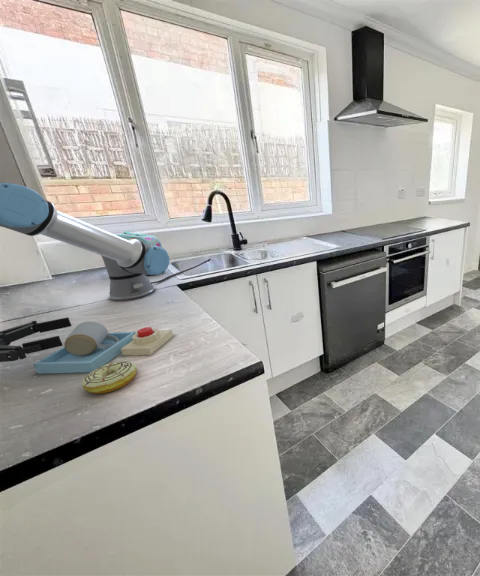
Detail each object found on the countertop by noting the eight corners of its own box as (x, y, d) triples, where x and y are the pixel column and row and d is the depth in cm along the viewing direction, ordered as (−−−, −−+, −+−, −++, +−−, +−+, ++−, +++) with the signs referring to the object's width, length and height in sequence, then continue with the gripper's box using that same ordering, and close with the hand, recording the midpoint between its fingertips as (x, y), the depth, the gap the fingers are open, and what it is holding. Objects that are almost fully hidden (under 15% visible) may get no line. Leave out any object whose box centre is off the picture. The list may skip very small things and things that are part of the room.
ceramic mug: (67, 360, 86) (56, 336, 83) (80, 345, 93) (71, 323, 90) (114, 352, 90) (106, 328, 87) (123, 339, 97) (116, 317, 94)
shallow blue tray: (91, 341, 97) (87, 333, 96) (138, 340, 98) (135, 331, 97) (37, 373, 82) (33, 364, 81) (94, 372, 82) (90, 362, 81)
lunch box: (115, 273, 163) (101, 232, 156) (134, 267, 173) (122, 229, 165) (152, 277, 156) (140, 235, 148) (171, 271, 165) (160, 231, 158)
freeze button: (144, 332, 95) (142, 327, 95) (156, 331, 95) (154, 326, 95) (135, 338, 92) (134, 332, 91) (148, 337, 92) (146, 332, 91)
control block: (148, 336, 100) (144, 325, 98) (173, 335, 100) (170, 324, 99) (122, 355, 90) (118, 343, 88) (150, 354, 90) (146, 342, 88)
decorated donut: (143, 365, 85) (139, 353, 83) (134, 388, 76) (129, 375, 75) (94, 376, 80) (89, 364, 79) (79, 402, 71) (73, 388, 70)
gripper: (-27, 347, 85) (77, 325, 97) (-75, 397, 66) (61, 362, 78) (-40, 323, 82) (68, 304, 94) (-95, 368, 64) (49, 336, 75)
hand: (65, 330), depth 86 cm, fingers open, 13 cm apart
